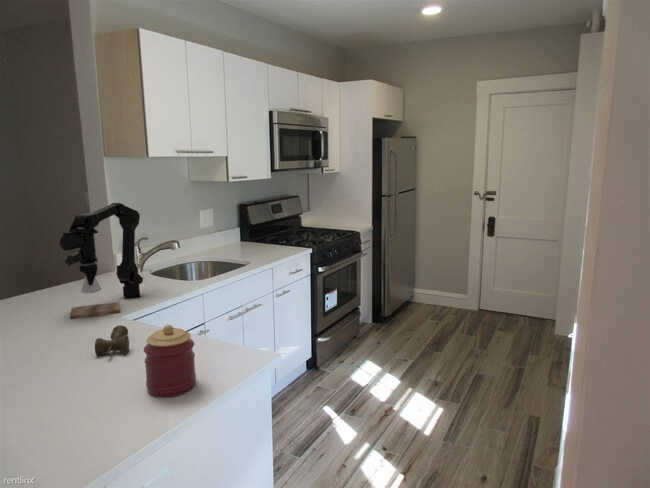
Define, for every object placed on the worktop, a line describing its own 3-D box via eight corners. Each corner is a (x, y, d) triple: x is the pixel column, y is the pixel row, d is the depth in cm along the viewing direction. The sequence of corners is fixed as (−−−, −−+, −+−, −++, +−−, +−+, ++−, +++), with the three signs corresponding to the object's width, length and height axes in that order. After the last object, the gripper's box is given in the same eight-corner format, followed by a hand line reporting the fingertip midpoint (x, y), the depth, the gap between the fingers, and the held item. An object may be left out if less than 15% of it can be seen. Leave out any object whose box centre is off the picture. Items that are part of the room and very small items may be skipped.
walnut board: (119, 304, 200) (118, 301, 200) (120, 312, 190) (120, 309, 190) (71, 310, 193) (71, 307, 192) (70, 319, 182) (70, 316, 182)
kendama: (136, 338, 164) (125, 360, 145) (106, 341, 162) (91, 363, 142) (134, 322, 163) (123, 341, 144) (105, 324, 161) (89, 345, 142)
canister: (159, 374, 134) (155, 316, 131) (203, 376, 133) (200, 317, 130) (137, 397, 122) (132, 333, 119) (185, 399, 120) (181, 334, 117)
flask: (93, 294, 185) (91, 269, 183) (77, 293, 186) (74, 269, 185) (105, 289, 192) (102, 265, 190) (89, 288, 193) (86, 265, 192)
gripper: (65, 243, 191) (69, 280, 194) (62, 251, 174) (66, 291, 177) (95, 241, 196) (99, 277, 198) (95, 249, 179) (99, 288, 182)
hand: (90, 283), depth 189 cm, fingers closed on flask, 5 cm apart
